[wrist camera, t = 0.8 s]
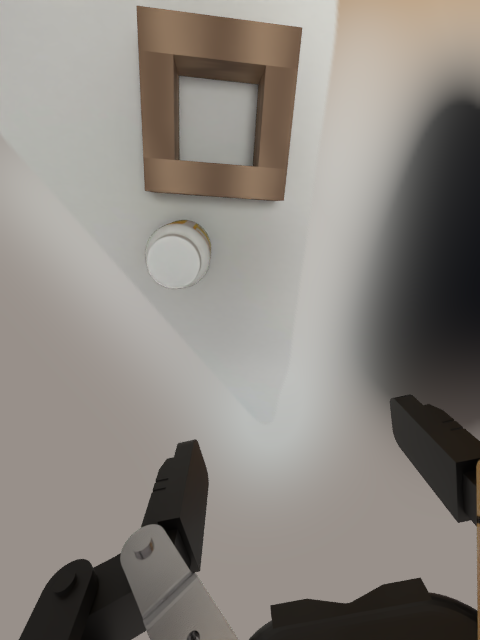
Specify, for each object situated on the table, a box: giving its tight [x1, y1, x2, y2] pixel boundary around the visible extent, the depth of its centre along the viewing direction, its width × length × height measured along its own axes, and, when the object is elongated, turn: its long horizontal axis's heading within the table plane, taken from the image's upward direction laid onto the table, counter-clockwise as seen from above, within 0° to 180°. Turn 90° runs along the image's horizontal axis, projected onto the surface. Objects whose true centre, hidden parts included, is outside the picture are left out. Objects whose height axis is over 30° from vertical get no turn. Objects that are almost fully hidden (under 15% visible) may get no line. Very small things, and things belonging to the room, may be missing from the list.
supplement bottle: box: [145, 220, 211, 289], centre depth 27 cm, size 5×5×10 cm
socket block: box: [137, 6, 302, 201], centre depth 26 cm, size 12×12×4 cm
